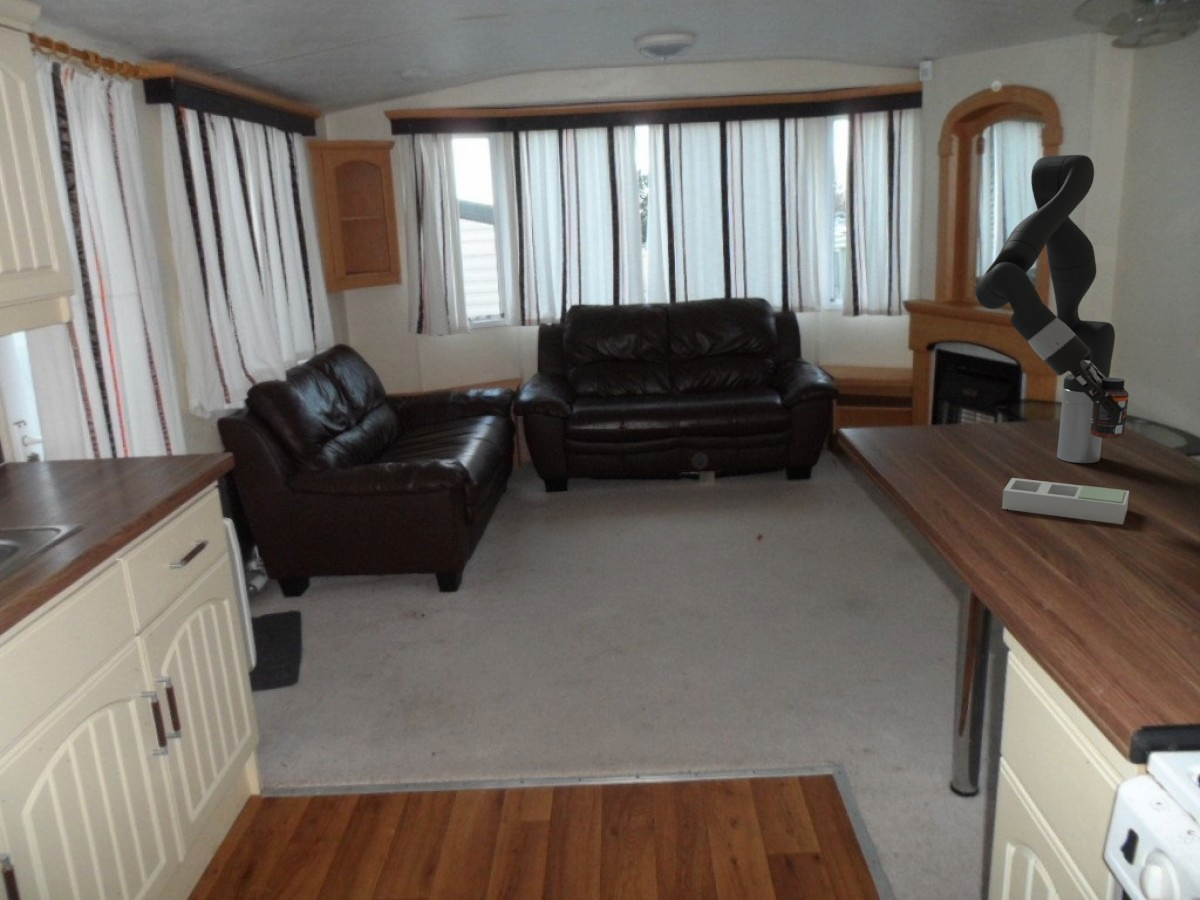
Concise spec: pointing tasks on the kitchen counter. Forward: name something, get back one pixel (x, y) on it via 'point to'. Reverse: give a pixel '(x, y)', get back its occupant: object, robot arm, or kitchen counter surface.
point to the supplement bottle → (1101, 419)
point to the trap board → (1066, 500)
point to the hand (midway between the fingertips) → (1119, 410)
